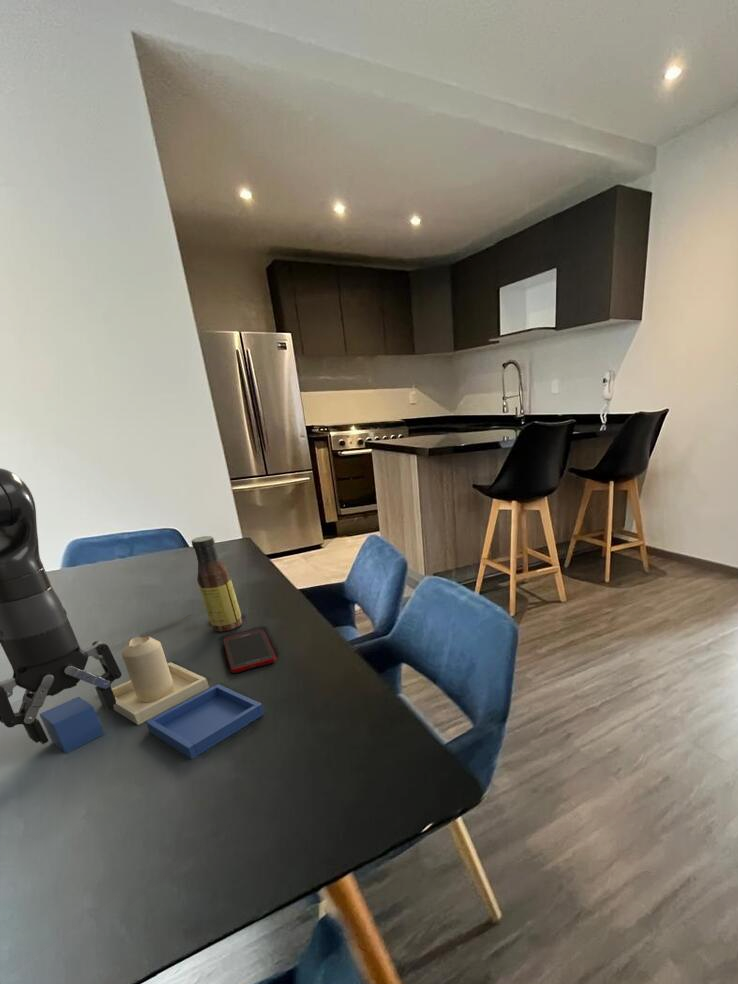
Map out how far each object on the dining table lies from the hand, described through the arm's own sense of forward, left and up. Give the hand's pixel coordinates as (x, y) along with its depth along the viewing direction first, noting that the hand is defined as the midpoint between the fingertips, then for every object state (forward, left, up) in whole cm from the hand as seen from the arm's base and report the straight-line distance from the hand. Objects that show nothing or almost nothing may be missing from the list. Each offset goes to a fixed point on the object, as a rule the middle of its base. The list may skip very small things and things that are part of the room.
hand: (77, 724), depth 72 cm
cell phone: (+28, 0, -2) cm, 29 cm away
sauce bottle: (+33, +15, -2) cm, 37 cm away
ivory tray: (+11, +1, -2) cm, 12 cm away
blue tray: (+11, -14, -2) cm, 18 cm away
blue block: (-1, 0, -2) cm, 2 cm away
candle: (+12, +1, -2) cm, 12 cm away
